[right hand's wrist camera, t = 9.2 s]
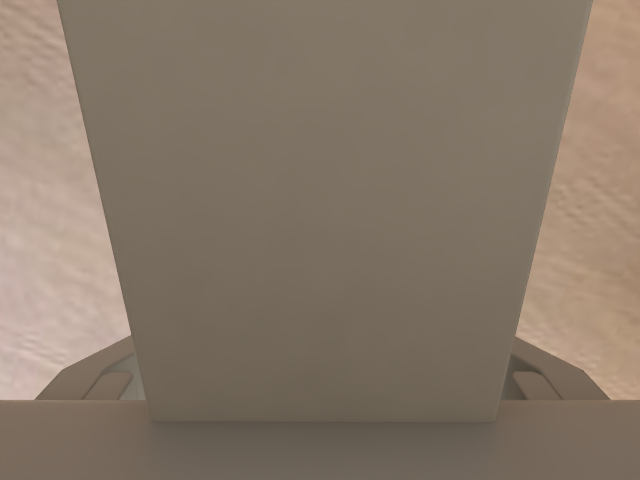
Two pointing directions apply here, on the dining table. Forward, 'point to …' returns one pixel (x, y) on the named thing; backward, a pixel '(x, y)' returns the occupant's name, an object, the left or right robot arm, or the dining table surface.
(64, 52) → the dining table surface
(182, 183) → the bar
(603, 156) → the dining table surface
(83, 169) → the dining table surface
